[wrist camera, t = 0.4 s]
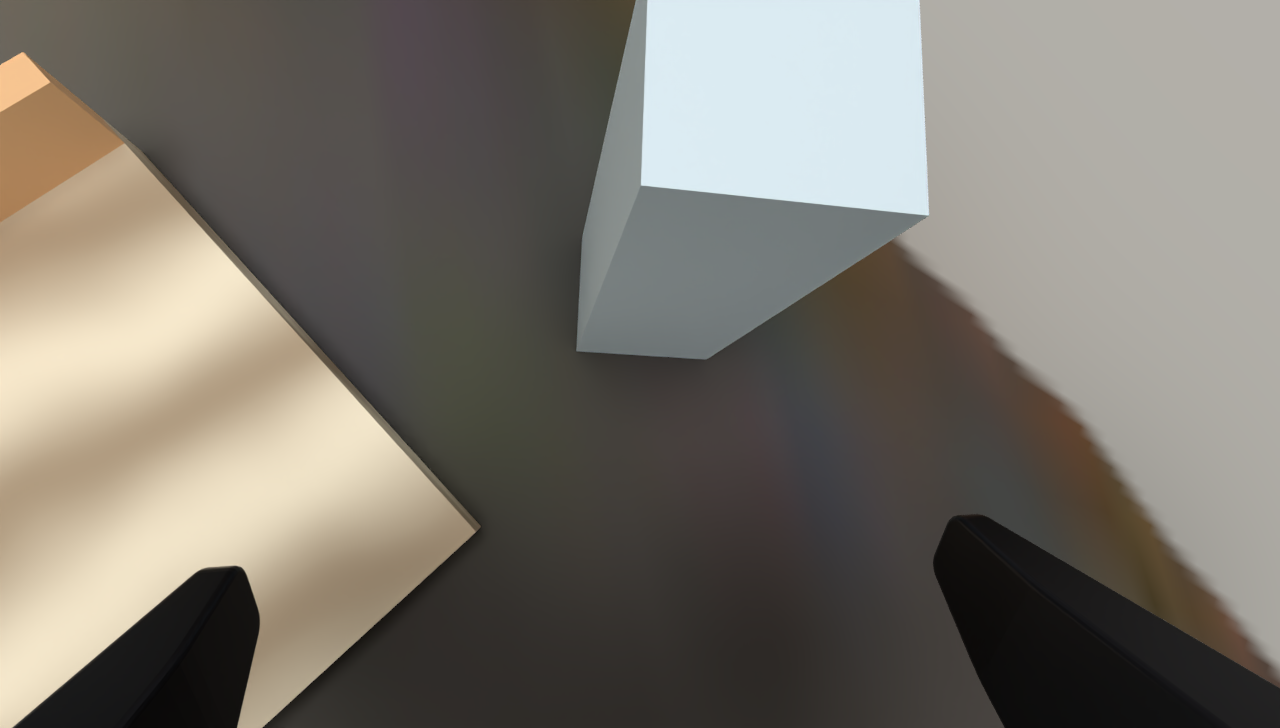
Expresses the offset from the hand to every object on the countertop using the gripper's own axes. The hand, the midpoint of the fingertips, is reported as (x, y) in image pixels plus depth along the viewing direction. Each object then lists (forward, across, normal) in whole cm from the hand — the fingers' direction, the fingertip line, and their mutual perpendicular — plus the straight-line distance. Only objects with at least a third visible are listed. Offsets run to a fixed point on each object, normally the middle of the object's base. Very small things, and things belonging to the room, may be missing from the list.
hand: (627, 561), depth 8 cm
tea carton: (+14, -3, +3) cm, 15 cm away
